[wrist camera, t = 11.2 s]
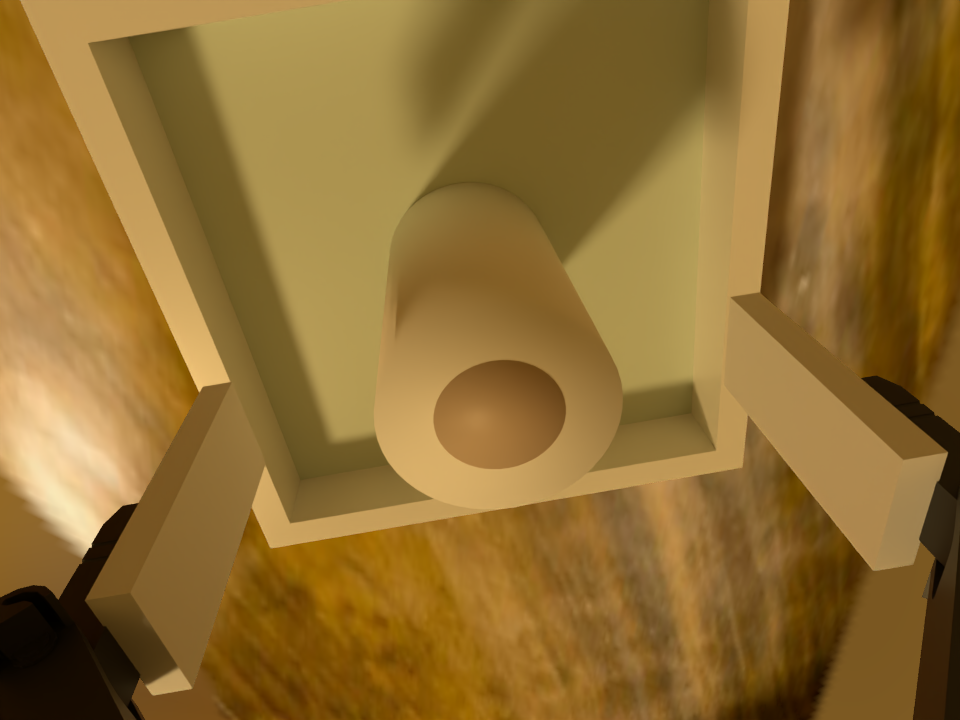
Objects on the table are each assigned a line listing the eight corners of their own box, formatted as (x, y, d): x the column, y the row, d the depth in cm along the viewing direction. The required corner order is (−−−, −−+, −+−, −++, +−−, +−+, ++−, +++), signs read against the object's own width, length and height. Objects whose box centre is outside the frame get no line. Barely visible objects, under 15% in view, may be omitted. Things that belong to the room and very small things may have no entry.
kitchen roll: (554, 317, 25) (626, 488, 16) (407, 343, 25) (403, 527, 16) (539, 168, 22) (619, 282, 13) (372, 198, 22) (344, 331, 13)
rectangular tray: (708, 419, 29) (742, 467, 26) (285, 491, 29) (270, 548, 26) (741, -112, 19) (802, -132, 16) (82, -2, 19) (19, -2, 16)
